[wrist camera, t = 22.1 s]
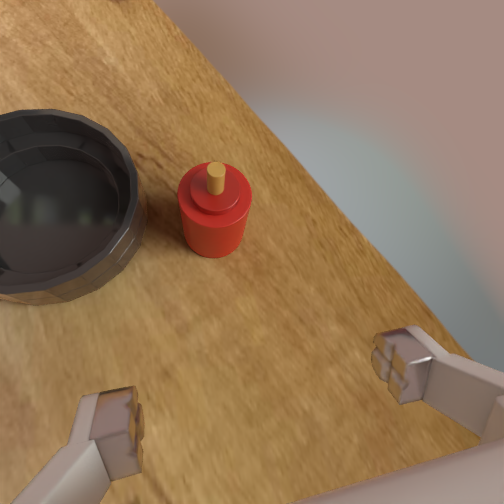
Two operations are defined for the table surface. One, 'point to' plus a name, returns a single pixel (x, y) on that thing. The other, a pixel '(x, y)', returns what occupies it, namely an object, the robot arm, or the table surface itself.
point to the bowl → (64, 206)
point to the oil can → (214, 208)
